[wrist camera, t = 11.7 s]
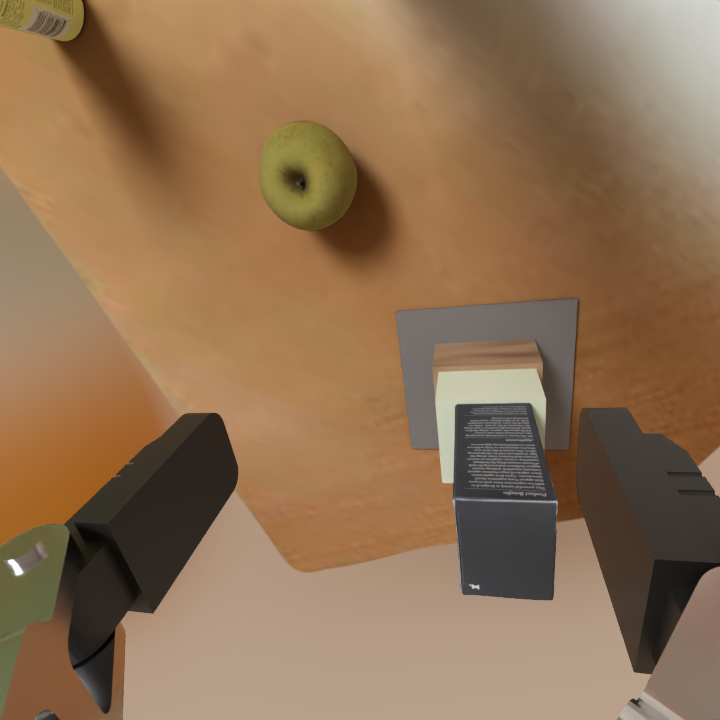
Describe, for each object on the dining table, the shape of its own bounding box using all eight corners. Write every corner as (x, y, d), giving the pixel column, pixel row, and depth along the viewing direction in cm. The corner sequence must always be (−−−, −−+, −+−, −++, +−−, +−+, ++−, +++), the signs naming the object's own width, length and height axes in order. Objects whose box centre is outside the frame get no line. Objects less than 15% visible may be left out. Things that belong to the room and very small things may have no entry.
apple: (307, 234, 41) (279, 251, 35) (265, 148, 39) (226, 150, 32) (380, 199, 38) (364, 210, 32) (340, 104, 36) (314, 96, 30)
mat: (396, 310, 43) (395, 312, 42) (577, 298, 39) (578, 299, 38) (412, 446, 49) (411, 448, 49) (568, 447, 45) (568, 449, 45)
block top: (438, 371, 38) (435, 401, 34) (536, 368, 37) (546, 399, 32) (444, 446, 42) (442, 482, 37) (534, 447, 40) (543, 485, 35)
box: (530, 483, 36) (554, 604, 26) (459, 481, 37) (457, 595, 28) (532, 399, 32) (561, 504, 23) (453, 401, 34) (450, 499, 24)
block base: (435, 343, 43) (432, 367, 38) (534, 338, 41) (542, 362, 36) (441, 421, 47) (439, 451, 42) (532, 421, 44) (540, 452, 40)
